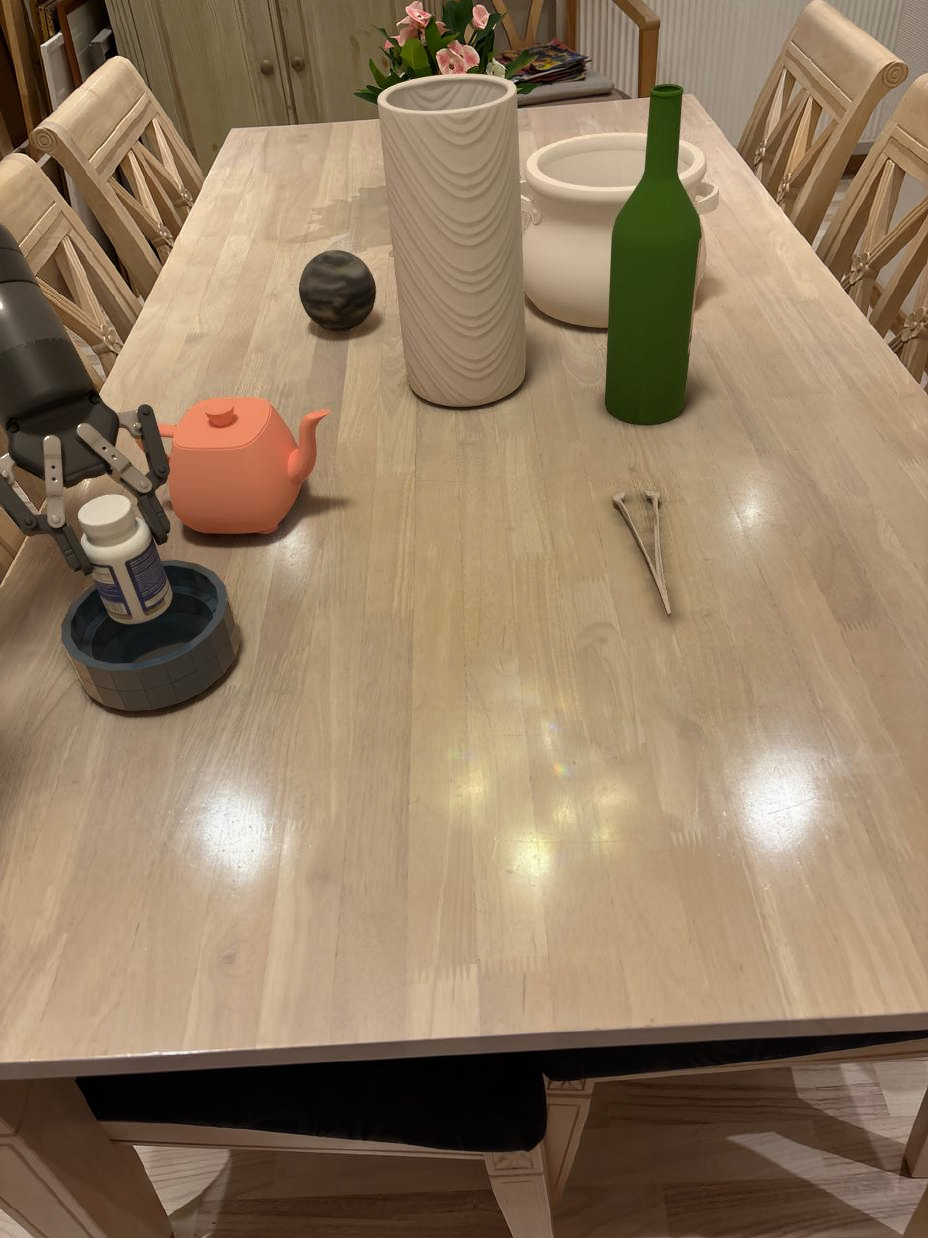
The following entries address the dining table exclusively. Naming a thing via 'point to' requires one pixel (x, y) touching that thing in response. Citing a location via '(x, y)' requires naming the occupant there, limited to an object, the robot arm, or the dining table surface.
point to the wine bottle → (653, 279)
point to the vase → (456, 234)
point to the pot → (589, 218)
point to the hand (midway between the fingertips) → (126, 556)
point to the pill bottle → (124, 560)
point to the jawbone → (660, 578)
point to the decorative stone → (337, 290)
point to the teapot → (237, 464)
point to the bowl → (154, 643)
